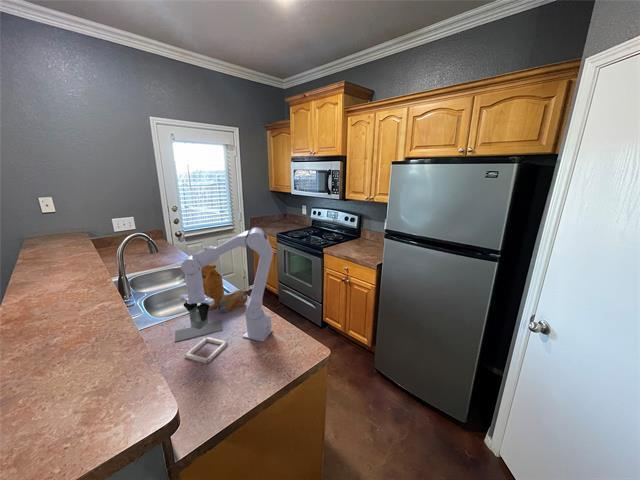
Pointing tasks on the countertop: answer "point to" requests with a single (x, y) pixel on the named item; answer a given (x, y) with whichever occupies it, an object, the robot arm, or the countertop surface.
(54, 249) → the countertop surface
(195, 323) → the block
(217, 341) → the pocket frame
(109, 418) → the countertop surface
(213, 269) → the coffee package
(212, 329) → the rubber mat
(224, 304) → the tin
